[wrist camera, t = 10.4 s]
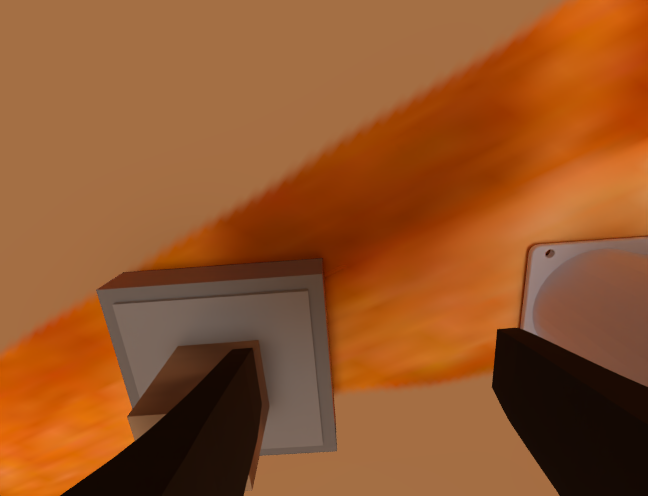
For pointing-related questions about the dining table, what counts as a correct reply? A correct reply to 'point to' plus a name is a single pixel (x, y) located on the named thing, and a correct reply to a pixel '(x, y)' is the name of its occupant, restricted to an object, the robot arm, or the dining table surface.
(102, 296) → the tray
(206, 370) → the block
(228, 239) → the dining table surface
